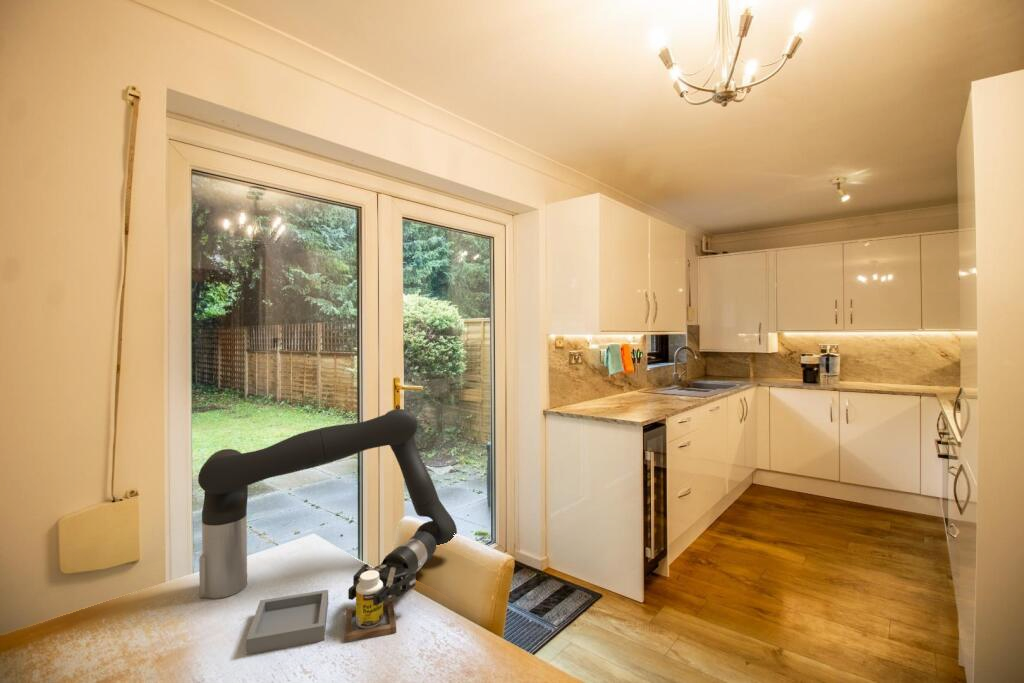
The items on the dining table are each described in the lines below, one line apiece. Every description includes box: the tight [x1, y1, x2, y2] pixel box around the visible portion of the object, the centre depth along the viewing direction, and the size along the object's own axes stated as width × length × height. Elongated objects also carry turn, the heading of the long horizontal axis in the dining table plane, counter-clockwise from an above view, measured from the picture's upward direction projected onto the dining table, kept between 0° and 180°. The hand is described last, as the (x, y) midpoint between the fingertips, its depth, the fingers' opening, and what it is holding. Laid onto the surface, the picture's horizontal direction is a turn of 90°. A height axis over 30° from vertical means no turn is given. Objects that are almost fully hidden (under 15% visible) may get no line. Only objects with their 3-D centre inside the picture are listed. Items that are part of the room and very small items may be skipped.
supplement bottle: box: [355, 570, 384, 629], centre depth 100 cm, size 6×6×10 cm
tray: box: [245, 589, 329, 656], centre depth 99 cm, size 14×14×3 cm
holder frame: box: [344, 600, 397, 643], centre depth 101 cm, size 10×10×1 cm
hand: (362, 598), depth 98 cm, fingers closed on supplement bottle, 5 cm apart
